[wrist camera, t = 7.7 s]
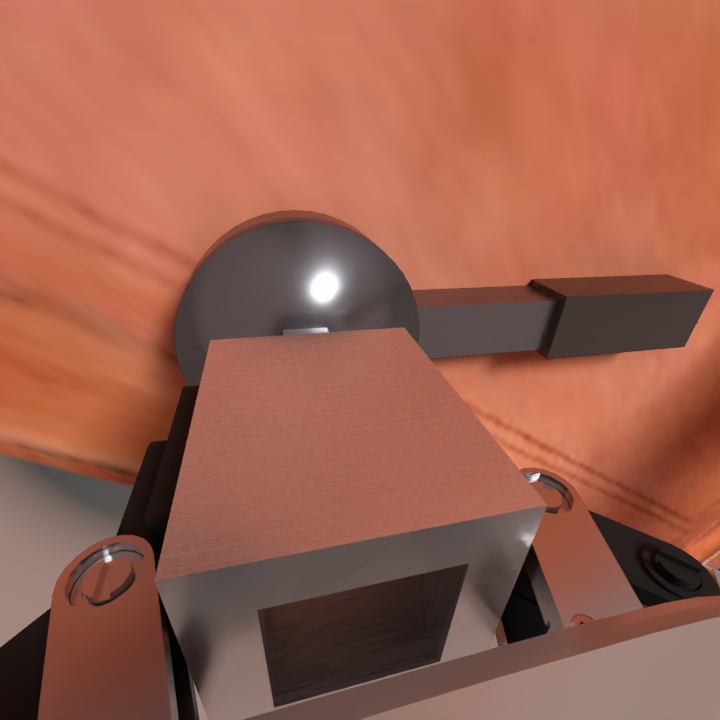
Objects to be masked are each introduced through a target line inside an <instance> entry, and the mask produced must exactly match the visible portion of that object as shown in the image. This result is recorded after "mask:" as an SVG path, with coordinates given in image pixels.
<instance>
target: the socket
mask: <svg viewBox="0 0 720 720" xmlns="http://www.w3.org/2000/svg"><path fill="white" fill-rule="evenodd" d="M546 507H547V504H546V503H545V501H544V500H543V499H542V498H541V496H540V495H539V494H538V493H537V491H536V490H535V489H534V488H533V487H532V485H531V484H530V483H529V482H528V480H527V479H526V478H525V477H524V475H523V474H522V473H521V472H520V470H519V469H518V468H517V467H516V465H515V464H514V463H513V462H512V460H511V459H510V458H509V457H508V455H507V454H506V453H505V452H504V451H503V449H502V448H501V447H500V446H499V444H498V443H497V442H496V441H495V439H494V438H493V437H492V436H491V434H490V433H489V432H488V431H487V429H486V428H485V427H484V426H483V424H482V423H481V422H480V421H479V420H478V418H477V417H476V416H475V415H474V413H473V412H472V411H471V410H470V408H469V407H468V406H467V405H466V403H465V402H464V401H463V400H462V398H461V397H460V396H459V395H458V393H457V392H456V391H455V390H454V388H453V387H452V386H451V385H450V384H449V382H448V381H447V380H446V379H445V377H444V376H443V375H442V374H441V372H440V371H439V370H438V369H437V367H436V366H435V365H434V364H433V362H432V361H431V360H430V359H429V357H428V356H427V355H426V354H425V353H424V351H423V350H422V349H421V348H420V346H419V345H418V344H417V343H416V341H415V340H414V339H413V338H412V336H411V335H410V334H409V333H408V331H407V330H406V329H405V328H404V327H402V328H387V329H372V330H356V331H341V332H326V333H311V334H296V335H280V336H265V337H250V338H235V339H220V340H210V343H209V348H208V352H207V356H206V361H205V365H204V369H203V373H202V378H201V382H200V386H199V391H198V395H197V399H196V404H195V408H194V412H193V417H192V421H191V425H190V430H189V434H188V438H187V443H186V447H185V451H184V456H183V460H182V464H181V468H180V473H179V477H178V481H177V486H176V490H175V494H174V499H173V503H172V507H171V512H170V516H169V520H168V525H167V529H166V533H165V538H164V542H163V546H162V551H161V555H160V559H159V564H158V568H157V572H156V576H155V584H156V586H157V589H158V592H159V594H160V597H161V599H162V602H163V604H164V607H165V609H166V612H167V615H168V617H169V620H170V622H171V625H172V627H173V630H174V632H175V635H176V638H177V640H178V643H179V645H180V648H181V650H182V653H183V655H184V658H185V661H186V663H187V666H188V668H189V671H190V673H191V676H192V678H193V681H194V684H195V686H196V689H197V691H198V694H199V696H200V699H201V701H202V704H203V707H204V709H205V712H206V714H207V717H208V719H209V720H243V719H246V718H249V717H253V716H256V715H260V714H263V713H267V712H270V711H274V710H277V709H281V708H284V707H288V706H291V705H295V704H298V703H302V702H305V701H309V700H312V699H316V698H319V697H323V696H326V695H330V694H333V693H337V692H340V691H344V690H347V689H351V688H355V687H358V686H362V685H365V684H369V683H372V682H376V681H379V680H383V679H386V678H390V677H394V676H397V675H401V674H404V673H408V672H411V671H415V670H418V669H422V668H426V667H429V666H433V665H436V664H440V663H443V662H447V661H450V660H454V659H458V658H461V657H465V656H468V655H472V654H475V653H479V652H483V651H486V650H488V648H489V645H490V643H491V640H492V638H493V635H494V633H495V631H496V628H497V626H498V623H499V621H500V619H501V616H502V614H503V611H504V609H505V606H506V604H507V602H508V599H509V597H510V594H511V592H512V590H513V587H514V585H515V582H516V580H517V577H518V575H519V573H520V570H521V568H522V565H523V563H524V561H525V558H526V556H527V553H528V551H529V549H530V546H531V544H532V541H533V539H534V536H535V534H536V532H537V529H538V527H539V524H540V522H541V520H542V517H543V515H544V512H545V510H546Z"/></svg>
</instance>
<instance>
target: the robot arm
mask: <svg viewBox="0 0 720 720" xmlns="http://www.w3.org/2000/svg"><path fill="white" fill-rule="evenodd" d="M199 386H200V385H198V386H187V387H183V389H182V393H181V396H180V400H179V403H178V406H177V410H176V413H175V416H174V420H173V423H172V427H171V430H170V433H169V437H168V440H165V441H157V442H152V443H150V444H149V446H148V448H147V451H146V454H145V457H144V459H143V462H142V465H141V468H140V471H139V473H138V476H137V479H136V482H135V485H134V488H133V491H132V493H131V496H130V499H129V502H128V505H127V507H126V510H125V513H124V516H123V519H122V521H121V524H120V527H119V530H118V533H117V536H115V537H111V538H108V539H105V540H103V541H101V542H98V543H96V544H94V545H92V546H90V547H89V548H88V549H86V550H85V551H83V552H82V553H80V554H79V555H78V556H77V557H76V558H75V559H74V560H73V561H72V562H71V563H70V564H69V565H68V566H67V567H66V568H65V569H64V571H63V572H62V574H61V575H60V577H59V579H58V580H57V582H56V586H55V589H54V592H53V597H52V605H51V608H50V609H49V610H47V611H46V612H45V613H44V614H42V615H41V616H40V617H39V618H37V619H36V620H35V621H33V622H32V623H31V624H30V625H28V626H27V627H26V628H25V629H23V630H22V631H21V632H20V633H18V634H17V635H16V636H14V637H13V638H12V639H11V640H9V641H8V642H7V643H6V644H4V645H3V646H2V647H0V720H199V715H198V708H197V702H196V695H195V690H194V682H193V678H192V676H191V673H190V671H189V668H188V666H187V663H186V661H185V658H184V655H183V653H182V650H181V648H180V645H179V643H178V640H177V638H176V635H175V632H174V630H173V627H172V625H171V622H170V620H169V617H168V615H167V612H166V609H165V607H164V604H163V602H162V599H161V597H160V594H159V592H158V589H157V586H156V584H155V576H156V572H157V568H158V564H159V559H160V555H161V551H162V546H163V542H164V538H165V533H166V529H167V525H168V520H169V516H170V512H171V507H172V503H173V499H174V494H175V490H176V486H177V481H178V477H179V473H180V468H181V464H182V460H183V456H184V451H185V447H186V443H187V438H188V434H189V430H190V425H191V421H192V417H193V412H194V408H195V404H196V399H197V395H198V391H199ZM520 472H521V473H522V474H523V475H524V477H525V478H526V479H527V480H528V482H529V483H530V484H531V485H532V487H533V488H534V489H535V490H536V491H537V493H538V494H539V495H540V496H541V498H542V499H543V500H544V501H545V503H546V504H547V507H546V510H545V512H544V515H543V517H542V520H541V522H540V524H539V527H538V529H537V532H536V534H535V536H534V539H533V541H532V544H531V546H530V549H529V551H528V553H527V556H526V558H525V561H524V563H523V565H522V568H521V570H520V573H519V575H518V577H517V580H516V582H515V585H514V587H513V590H512V592H511V594H510V597H509V599H508V602H507V604H506V606H505V609H504V611H503V614H502V616H501V619H500V621H499V623H498V626H497V628H496V631H495V633H496V638H497V642H498V646H499V647H497V648H493V649H490V650H486V651H483V652H479V653H475V654H472V655H468V656H465V657H461V658H458V659H454V660H450V661H447V662H443V663H440V664H436V665H433V666H429V667H426V668H422V669H418V670H415V671H411V672H408V673H404V674H401V675H397V676H394V677H390V678H386V679H383V680H379V681H376V682H372V683H369V684H365V685H362V686H358V687H355V688H351V689H347V690H344V691H340V692H337V693H333V694H330V695H326V696H323V697H319V698H316V699H312V700H309V701H305V702H302V703H298V704H295V705H291V706H288V707H284V708H281V709H277V710H274V711H270V712H267V713H263V714H260V715H256V716H253V717H249V718H246V719H243V720H720V571H719V570H716V569H712V570H711V572H710V573H709V571H708V570H707V569H706V568H705V567H704V566H703V565H702V564H701V563H699V562H698V561H697V560H696V559H695V558H693V557H692V556H690V555H689V554H688V553H686V552H685V551H683V550H681V549H679V548H677V547H675V546H673V545H671V544H669V543H666V542H664V541H662V540H659V539H657V538H654V537H652V536H649V535H647V534H645V533H642V532H640V531H637V530H635V529H633V528H630V527H628V526H625V525H623V524H620V523H618V522H616V521H613V520H611V519H608V518H606V517H603V516H601V515H599V514H596V513H594V512H591V511H589V510H587V508H586V506H585V504H584V503H583V501H582V499H581V497H580V496H579V494H578V493H577V491H576V490H575V489H574V487H573V486H572V485H571V484H569V483H568V482H567V481H566V480H565V479H563V478H562V477H560V476H558V475H556V474H555V473H552V472H550V471H547V470H544V469H539V468H523V469H521V470H520Z"/></svg>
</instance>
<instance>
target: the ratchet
mask: <svg viewBox="0 0 720 720" xmlns="http://www.w3.org/2000/svg"><path fill="white" fill-rule="evenodd" d="M713 291H714V290H713V289H710V288H707V287H704V286H701V285H698V284H695V283H692V282H688V281H685V280H682V279H679V278H676V277H673V276H670V275H641V276H614V277H587V278H559V279H532V283H531V286H508V287H484V288H459V289H434V290H412V289H411V287H410V285H409V283H408V281H407V280H406V278H405V276H404V274H403V273H402V271H401V270H400V269H399V268H398V266H397V265H396V264H395V262H394V261H393V260H392V259H391V258H390V257H389V256H388V255H387V254H386V253H385V252H383V251H382V250H381V249H380V248H379V247H378V246H377V245H376V244H374V243H373V242H372V241H371V240H370V239H369V238H368V237H366V236H365V235H364V234H362V233H361V232H360V231H358V230H357V229H356V228H354V227H353V226H351V225H349V224H347V223H345V222H343V221H341V220H339V219H336V218H333V217H331V216H328V215H325V214H320V213H315V212H310V211H297V210H293V211H278V212H273V213H268V214H264V215H261V216H258V217H255V218H252V219H249V220H247V221H245V222H243V223H241V224H239V225H238V226H236V227H234V228H232V229H231V230H230V231H228V232H227V233H226V234H224V235H223V236H221V237H220V238H219V239H218V240H217V241H216V242H215V243H214V244H213V245H212V246H211V247H210V248H209V250H208V251H207V252H206V254H205V255H204V256H203V258H202V259H201V261H200V263H199V264H198V266H197V268H196V270H195V272H194V274H193V276H192V278H191V280H190V282H189V284H188V286H187V288H186V290H185V292H184V294H183V296H182V299H181V302H180V305H179V308H178V310H177V316H176V321H175V331H174V343H175V350H176V357H177V360H178V364H179V367H180V370H181V373H182V375H183V377H184V379H185V381H186V383H187V385H188V386H198V385H200V382H201V378H202V373H203V369H204V365H205V361H206V356H207V352H208V348H209V343H210V340H220V339H235V338H250V337H265V336H280V335H296V334H311V333H326V332H341V331H356V330H372V329H387V328H402V327H404V328H405V329H406V330H407V331H408V333H409V334H410V335H411V336H412V338H413V339H414V340H415V341H416V343H417V344H418V345H419V346H420V348H421V349H422V350H423V351H424V353H425V354H426V355H427V356H428V357H429V359H433V358H445V357H457V356H469V355H481V354H493V353H505V352H517V351H529V350H536V351H537V352H538V353H540V354H541V355H542V356H544V357H545V358H546V359H554V358H565V357H576V356H588V355H599V354H610V353H621V352H632V351H643V350H655V349H666V348H677V347H684V346H685V345H686V343H687V341H688V339H689V337H690V335H691V333H692V331H693V329H694V327H695V325H696V323H697V321H698V320H699V318H700V316H701V314H702V312H703V310H704V308H705V306H706V304H707V302H708V300H709V298H710V296H711V295H712V293H713Z"/></svg>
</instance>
